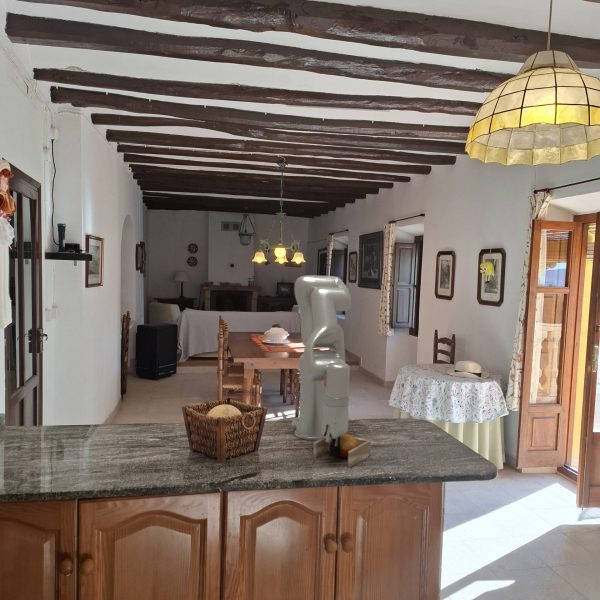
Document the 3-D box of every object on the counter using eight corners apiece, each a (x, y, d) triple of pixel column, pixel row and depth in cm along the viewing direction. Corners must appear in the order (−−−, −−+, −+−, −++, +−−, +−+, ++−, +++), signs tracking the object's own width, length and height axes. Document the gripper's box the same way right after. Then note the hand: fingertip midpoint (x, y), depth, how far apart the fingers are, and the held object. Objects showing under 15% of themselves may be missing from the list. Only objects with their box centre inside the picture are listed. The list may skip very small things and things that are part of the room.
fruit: (354, 445, 178) (357, 430, 173) (357, 464, 171) (360, 449, 167) (331, 445, 177) (333, 429, 173) (333, 464, 170) (335, 448, 166)
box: (313, 457, 169) (313, 442, 169) (334, 446, 181) (335, 432, 180) (350, 467, 161) (351, 452, 161) (370, 455, 173) (370, 440, 173)
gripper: (338, 395, 174) (336, 448, 175) (314, 403, 162) (312, 460, 162) (358, 398, 170) (355, 453, 171) (335, 407, 157) (333, 466, 158)
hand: (334, 456), depth 167 cm, fingers closed
